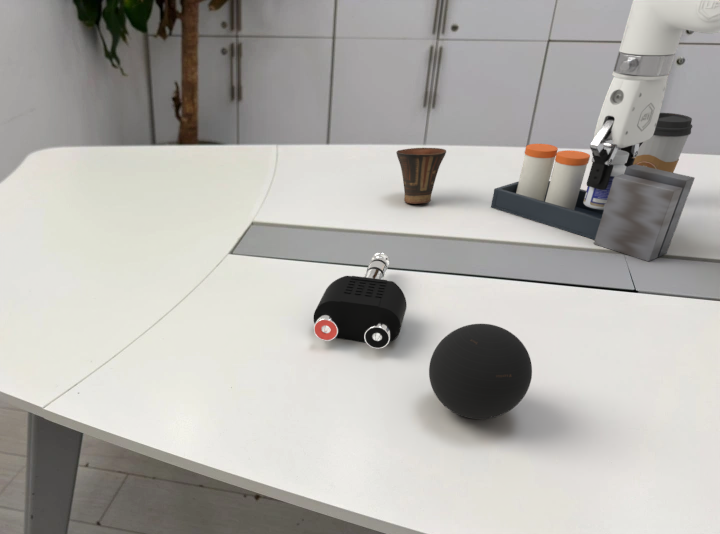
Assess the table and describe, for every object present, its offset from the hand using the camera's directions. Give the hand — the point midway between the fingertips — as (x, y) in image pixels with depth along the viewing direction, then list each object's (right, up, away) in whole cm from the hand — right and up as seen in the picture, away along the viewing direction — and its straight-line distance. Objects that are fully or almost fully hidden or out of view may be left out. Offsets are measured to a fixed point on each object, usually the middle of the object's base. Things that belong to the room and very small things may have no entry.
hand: (606, 183), depth 112 cm
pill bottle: (0, -3, +2) cm, 4 cm away
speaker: (-38, -37, -39) cm, 66 cm away
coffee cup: (+14, 0, +14) cm, 20 cm away
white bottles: (-5, -1, +11) cm, 12 cm away
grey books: (+1, -12, -4) cm, 13 cm away
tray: (-3, -3, +8) cm, 10 cm away
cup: (-27, +2, +18) cm, 32 cm away
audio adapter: (-45, -23, -18) cm, 54 cm away
